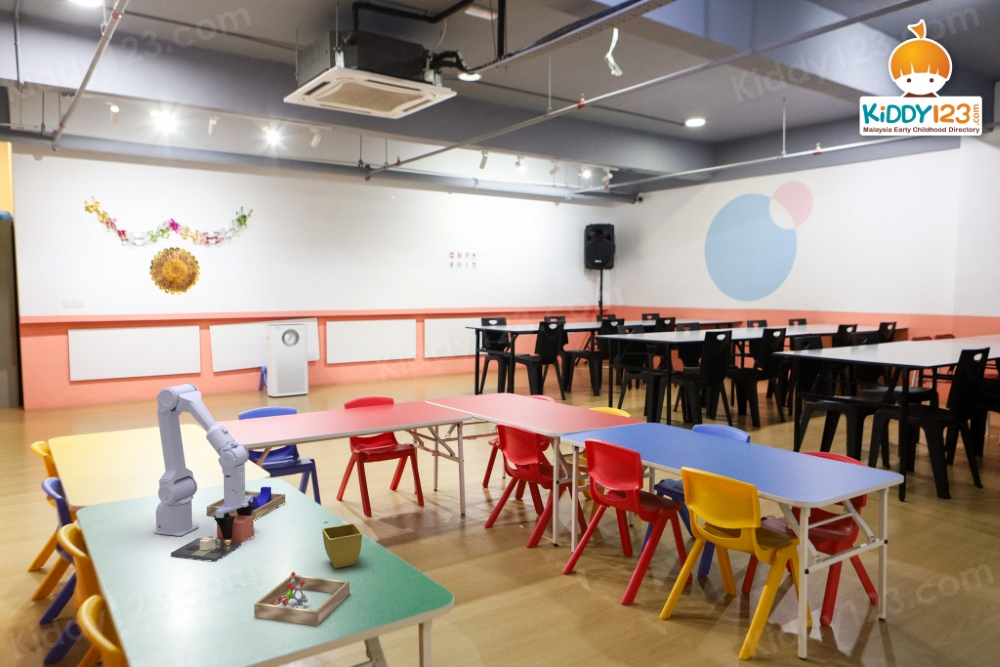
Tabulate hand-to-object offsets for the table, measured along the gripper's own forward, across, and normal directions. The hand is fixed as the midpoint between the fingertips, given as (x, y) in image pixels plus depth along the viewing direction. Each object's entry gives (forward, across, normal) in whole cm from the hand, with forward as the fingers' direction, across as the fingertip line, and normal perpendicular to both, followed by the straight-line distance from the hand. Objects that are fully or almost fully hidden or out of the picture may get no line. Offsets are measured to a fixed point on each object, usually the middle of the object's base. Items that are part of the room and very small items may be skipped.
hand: (235, 533), depth 191 cm
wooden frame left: (+1, +23, +12) cm, 26 cm away
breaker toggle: (0, -11, +1) cm, 11 cm away
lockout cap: (+1, 0, 0) cm, 1 cm away
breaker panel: (+1, -10, +2) cm, 10 cm away
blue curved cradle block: (+2, +24, +9) cm, 25 cm away
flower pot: (+2, -8, -38) cm, 39 cm away
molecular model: (+2, -33, -38) cm, 50 cm away
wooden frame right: (+1, -31, -40) cm, 51 cm away
